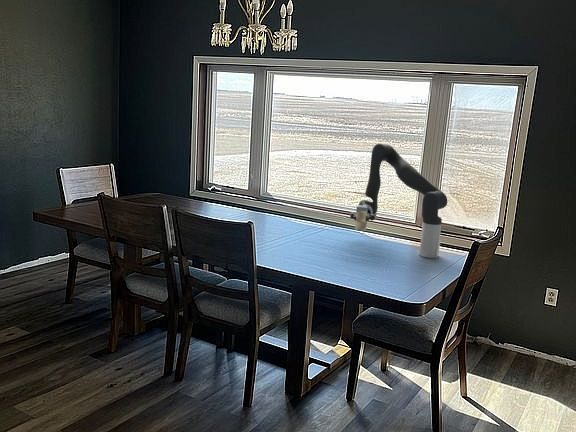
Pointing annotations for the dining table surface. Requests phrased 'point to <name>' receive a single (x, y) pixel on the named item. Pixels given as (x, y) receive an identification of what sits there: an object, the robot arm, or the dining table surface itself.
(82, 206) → the dining table surface
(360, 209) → the maple block
